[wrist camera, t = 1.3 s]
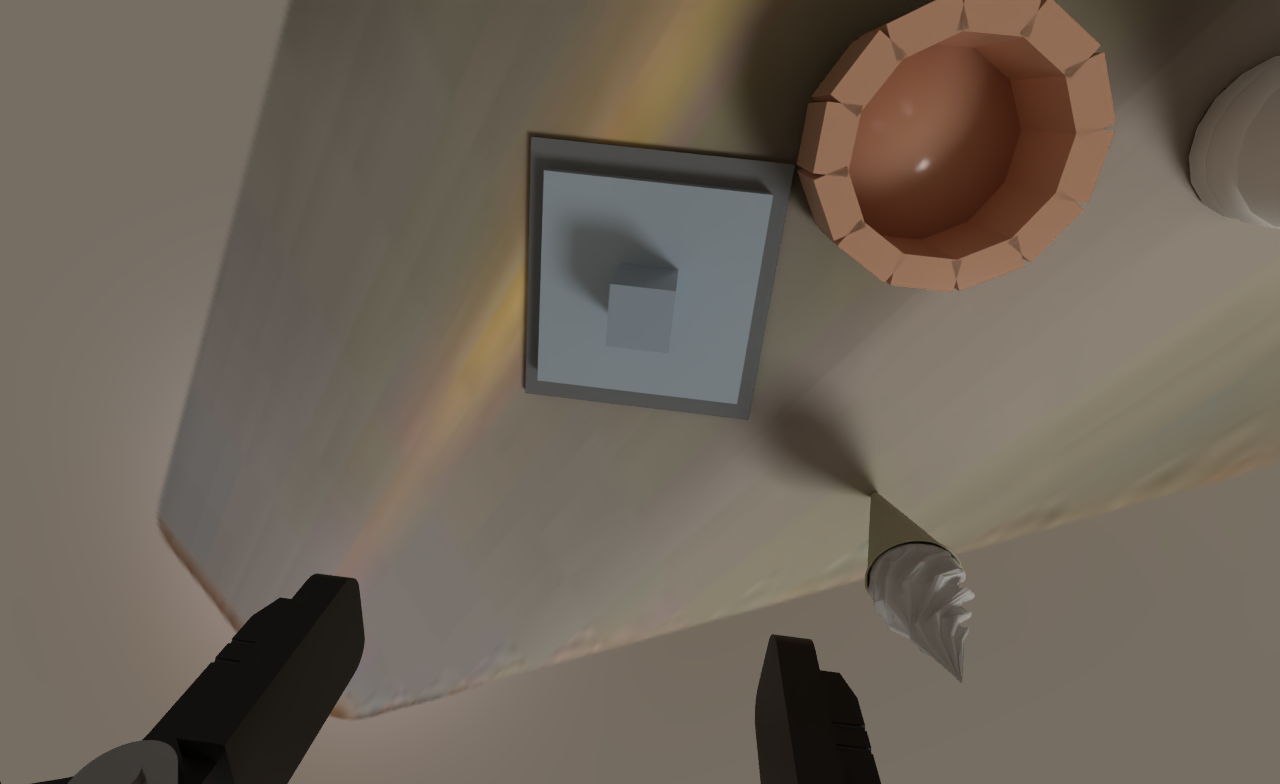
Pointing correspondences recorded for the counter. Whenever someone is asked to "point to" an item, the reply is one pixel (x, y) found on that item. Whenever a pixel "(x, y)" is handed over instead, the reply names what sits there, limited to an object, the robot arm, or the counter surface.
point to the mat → (665, 169)
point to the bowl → (957, 140)
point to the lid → (648, 283)
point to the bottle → (1242, 149)
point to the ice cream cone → (917, 585)
